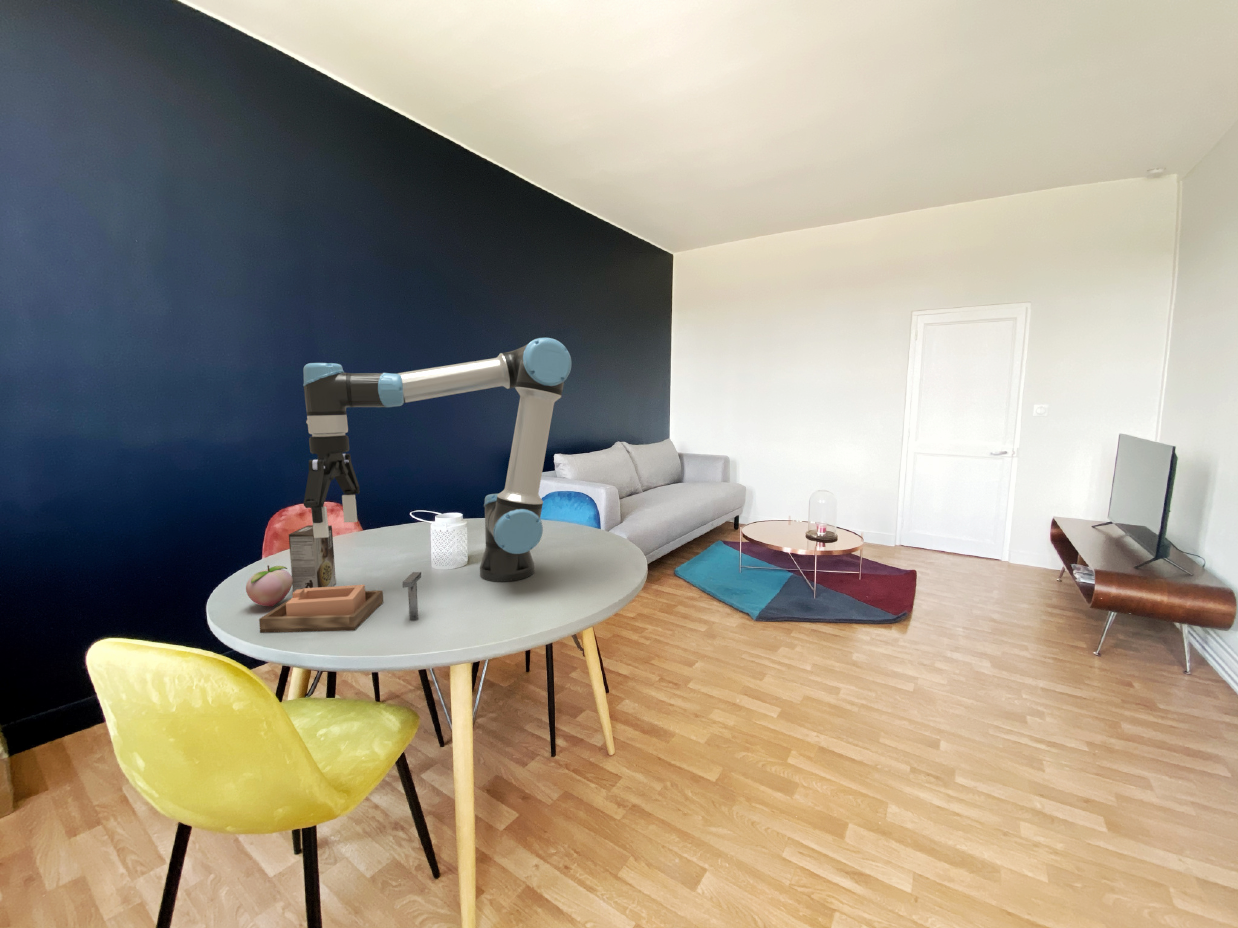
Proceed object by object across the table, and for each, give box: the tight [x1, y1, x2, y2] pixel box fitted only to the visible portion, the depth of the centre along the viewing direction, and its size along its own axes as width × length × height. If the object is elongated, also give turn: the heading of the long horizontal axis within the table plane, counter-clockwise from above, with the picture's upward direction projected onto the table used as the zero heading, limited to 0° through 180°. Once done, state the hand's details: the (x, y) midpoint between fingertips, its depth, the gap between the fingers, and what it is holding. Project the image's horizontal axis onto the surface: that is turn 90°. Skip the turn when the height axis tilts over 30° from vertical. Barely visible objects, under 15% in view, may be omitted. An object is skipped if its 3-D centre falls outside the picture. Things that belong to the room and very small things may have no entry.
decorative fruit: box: [245, 564, 293, 607], centre depth 115 cm, size 9×8×10 cm
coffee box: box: [288, 524, 337, 593], centre depth 125 cm, size 9×6×16 cm
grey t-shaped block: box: [402, 571, 422, 622], centre depth 109 cm, size 2×6×10 cm, turn 4°
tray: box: [258, 590, 384, 634], centre depth 110 cm, size 19×15×3 cm
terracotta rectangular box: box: [286, 584, 366, 616], centre depth 110 cm, size 13×9×6 cm
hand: (337, 529), depth 111 cm, fingers open, 13 cm apart
